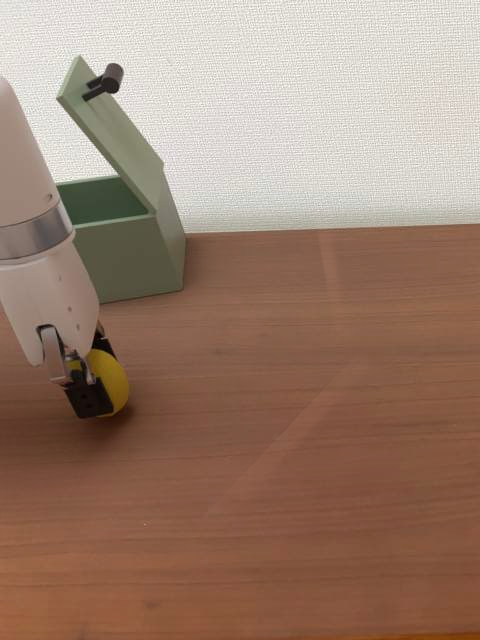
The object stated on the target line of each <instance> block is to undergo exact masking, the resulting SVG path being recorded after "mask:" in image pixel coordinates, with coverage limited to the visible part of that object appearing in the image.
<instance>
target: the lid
mask: <svg viewBox="0 0 480 640" xmlns="http://www.w3.org/2000/svg"><path fill="white" fill-rule="evenodd" d="M124 74H125V70H124V68H123V67H122V66H121V65H120V64H119V63H116V62H109V63H108V64H107V65H106V67H105V70H104V71H103V73H102V74H100V75H98V76H97V75H96V73H95V72H94V71H93V69H92V68H91V67H90V65H89V64H88V63H87V61H86V60H85V59H84V58H83V57H82V55H81V54H79V55H77V56H74V57H73V59H72V61H71V63H70V66H69V68H68V70H67V72H66V74H65V77H64V79H63V81H62V84H61V85H60V87H59V90H58V92H57V94H56V96H55V100H56V102H57V103H58V104H59V105H60V106H61V108H63V110H64V111H65V112H66V114H67V115H68V116H69V117H70V118H71V120H72V121H73V122H74V123H75V124H76V125H77V127H78V128H79V129H80V130H81V131H82V133H83V134H84V135H85V136H86V138H87V139H88V140H89V141H90V143H91V144H92V145H93V146H94V148H96V149H97V151H98V152H99V154H101V155H102V157H103V158H104V159H105V161H107V163H108V164H109V165H110V166H111V167H112V169H113V170H114V171H115V172H116V174H118V175H119V176H120V177H121V178H122V180H123V181H124V182H125V183H126V184H127V186H128V187H129V188H130V189H131V190H132V192H133V193H134V194H135V195H136V196H137V198H138V199H139V200H140V201H141V202H142V204H143V205H144V206H145V207H146V208H147V210H148V211H149V212H150V213H151V214H152V213H154V212H156V211H157V209H158V202H159V195H160V188H161V182H162V175H163V170H164V167H165V162H164V161H163V159H162V158H161V157H160V156H159V154H158V153H157V152H156V151H155V149H154V148H153V147H152V145H151V144H150V143H149V141H148V140H147V139H146V137H145V136H144V135H143V133H142V132H141V131H140V130H139V129H138V127H137V126H136V125H135V123H134V122H133V121H132V120H131V118H130V117H129V115H128V114H127V113H126V112H125V110H123V108H122V107H121V106H120V104H119V103H118V102H117V100H116V99H115V98H114V96H113V95H116V94H117V93H118V92H119V91H120V90H121V85H122V81H123V79H124V76H125V75H124Z"/></svg>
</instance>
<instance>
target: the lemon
mask: <svg viewBox="0 0 480 640" xmlns="http://www.w3.org/2000/svg"><path fill="white" fill-rule="evenodd" d="M88 357H89V360H90V363H91V366H92V369H93V372H94V375H95V377H100V378H101V380H102V382H103V384H104V386H105V388H106V391H107V393H108V395H109V397H110V399H111V401H112V403H113V405H114V412H113V413H111V414H106V415H101V416H96V417H95V418H105V417H113V416H115V414H116V413H117V412H119V411H120V410H122V408H124V406H125V405H126V403H127V401H128V399H129V396H130V389H131V388H130V383H129V378H128V375H127V373H126V371H125V369H124V368H123V366H122V365H121V364H120V363H119V361H118V362H117V360H118V359H117V360H116V359H115V358H114V357H113V356H111V355H110V354H108V353H106V352H104V351H102V350H97V349H91V350H90V352H89V353H88ZM67 364H68V367H69V368H70V369H71V370H75V369H78V370H80V371H82V368H81V365H80V362H79V360H74V361H69V362H67ZM65 396H66V398H67V399H68V397H67V395H66V394H65Z"/></svg>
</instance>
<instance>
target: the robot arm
mask: <svg viewBox="0 0 480 640" xmlns="http://www.w3.org/2000/svg"><path fill="white" fill-rule="evenodd" d="M18 98H19V97H18V96H17V94H16V92H15V90H14V88H13V86H12V85H11V83H10V82H9V80H7V78H5V76H3V75H1V74H0V302H1V306H2V308H3V310H4V312H5V314H6V317H7V319H8V321H9V323H10V325H11V327H12V330H13V332H14V334H15V336H16V338H17V340H18V342H19V343H18V344H19V345H20V347H21V349H22V351H23V353H24V355H25V357H26V359H27V360H28V362H29V364H31V366H34V367H40V366H42V365H44V364H45V361H46V367H47V372H48V376H49V381H50V382H51V383H52V384H55V385H58V386H59V387H60V389H61V390H62V391H63V392H64V394H65V396H66V395H67V396H66V398H67V397H68V398H67V399H68V401H69V404H70V406H71V407H72V410H73V411H74V413H75V415H76V416H77V418H78V419H81V420H85V419H90V418H97V417H96V416H101V415H106V414H111V413H113V412H114V405H113V403H112V401H111V399H110V397H109V395H108V393H107V391H106V388H105V386H104V384H103V382H102V380H101V378H100V377H95V375H94V372H93V369H92V366H91V363H90V360H89V357H88V353H89V352H90V350H91V349H97V350H102V351H104V352H106V353H108V354H110V355H111V356H113V357H114V358H115V359H116V360H117V362H118V363H119V360H118V358H117V356H116V354H115V352H114V350H113V347H112V345H111V342H110V340H109V339H108V337H106V331H105V328H104V326H103V325H102V322H101V321H100V320H99V314H100V304H99V300H98V297H97V294H96V291H95V289H94V286H93V284H92V281H91V279H90V277H89V275H88V273H87V270H86V268H85V266H84V264H83V262H82V260H81V258H80V256H79V254H78V252H77V250H76V248H75V246H74V244H73V242H72V240H73V239H74V237H75V234H76V232H75V229H74V226H73V224H72V222H71V220H70V217H69V215H68V213H67V210H66V208H65V206H64V204H63V201H62V199H61V197H60V195H59V192H58V190H57V187H56V185H55V183H56V182H55V181H54V178H53V176H52V174H51V172H50V170H49V169H50V168H49V167H48V165H47V163H46V159H45V157H44V155H43V153H42V151H41V148H40V146H39V144H38V142H37V140H36V137H35V135H34V132H33V130H32V128H31V126H30V124H29V121H28V119H27V117H26V114H25V112H24V110H23V107H22V105H21V103H20V100H19V99H18ZM67 348H69V349H70V350H71V351H70V352H69V351H68V352H65V351H66V350H65V349H67ZM74 360H79V362H80V365H81V368H82V371H80V370H78V369H75V370H71V369H70V368H69V367H68V364H67V362H69V361H74Z"/></svg>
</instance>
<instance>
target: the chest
mask: <svg viewBox="0 0 480 640" xmlns="http://www.w3.org/2000/svg"><path fill="white" fill-rule="evenodd" d="M54 183H55V185H56V187H57V190H58V192H59V195H60V197H61V199H62V201H63V204H64V206H65V208H66V210H67V213H68V215H69V217H70V220H71V222H72V224H73V226H74V229H75V232H76V234H75V237H74V239H73V240H72V242H73V244H74V246H75V248H76V250H77V252H78V254H79V256H80V258H81V260H82V262H83V264H84V266H85V268H86V270H87V273H88V275H89V277H90V279H91V281H92V284H93V286H94V289H95V291H96V294H97V297H98V300H99V305H102V304H108V303H114V302H119V301H125V300H132V299H137V298H143V297H151V296H156V295H160V294H161V295H162V294H167V293H174V292H180V291H183V286H184V274H185V263H186V262H185V260H186V251H187V250H186V248H187V235H186V232H185V229H184V226H183V223H182V220H181V217H180V215H179V211H178V209H177V206H176V203H175V199H174V196H173V194H172V191H171V189H170V186H169V182H168V179H167V177H166V173H165V170H164V169H163V175H162V182H161V188H160V195H159V202H158V209H157V211H156V212H154V213H152V214H151V213H150V212H149V211H148V210H147V208H146V207H145V206H144V205H143V204H142V202H141V201H140V200H139V199H138V198H137V196H136V195H135V194H134V193H133V192H132V190H131V189H130V188H129V187H128V186H127V184H126V183H125V182H124V181H123V180H122V178H121V177H120V176H119V175H118V173H116V174H111V175H103V176H96V177H95V176H94V177H89V178H82V179H73V180H66V181H60V182H54Z"/></svg>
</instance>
